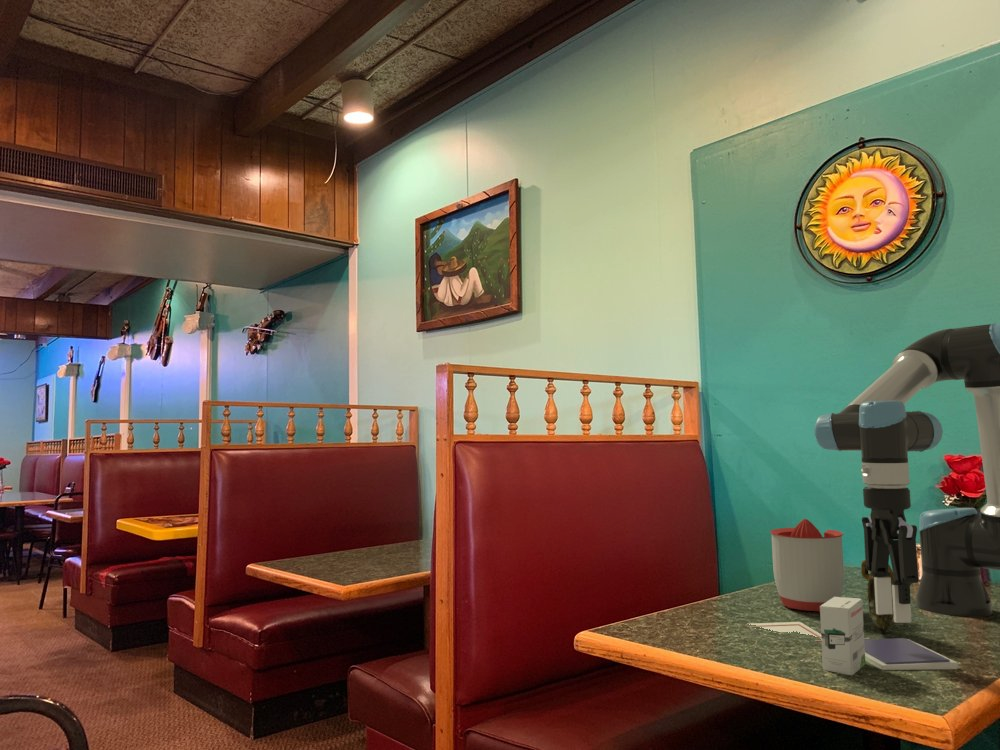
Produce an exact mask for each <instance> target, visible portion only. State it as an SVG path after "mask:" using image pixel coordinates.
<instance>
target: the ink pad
mask: <svg viewBox="0 0 1000 750" xmlns="http://www.w3.org/2000/svg"><path fill="white" fill-rule="evenodd" d="M864 644H865V662H867V663H869V664H871V665H872V666H874V667H876V668H878V669H879V670H882V671H883V670H884V671H886V670H887V671H891V670H893V671H894V670H895V671H896V670H899V671H900V670H902V671H904V670H908V671H909V670H911V671H912V670H958V669H959V668H958V667H959V666H958V661H956V660H953V659H951V658H948V656H947V657H946V656H945V655H943V654H940V653H938V652H937V651H934V650H933V649H930V648H929V647H926V646H924V645H922V644H920V643H918V642H916V641H913V640H912V639H909V638H905V637H898V638H873V639H871V638H870V639H867V638H866V639H864Z"/></svg>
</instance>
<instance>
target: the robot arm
mask: <svg viewBox="0 0 1000 750" xmlns="http://www.w3.org/2000/svg"><path fill="white" fill-rule="evenodd" d="M954 380H955V381H957V380H958V381H959V380H964V382H963V383H964V389H965V390H967V391H968V392H970V393H971V394H972V395H973V397H974V405H975V412H976V413H975V414H976V420H977V421H976V422H977V429H978V437H979V445H980V452H981V460H982V461H981V462H982V469H983V476H984V485H985V493H986V494H985V495H986V501H987V502H986V504H984V505H983V506H982V507H981V508H980V515H979V514H978V513H979V512H978V511H977V509H976V508H975V507H955V508H953V507H952V508H941V509H932V510H931V509H930V510H925V511H923V512H921V513H920V515H919V524H918V525H919V526H918V527H917V526H916V525H915V524H911V525H910V524H908V523H907V519H906V516H905V510H908V509H910V508H911V507H912V505H911V504H912V503H911V501H912V500H911V490H910V489H909V487H907V486H909V485H910V483H911V482H910V469H909V457H908V456H909V454H908V452H921V453H922V452H924V451H928V450H931V449H934V448H935V447H937V446H938V445H939V443H940V442H941V441H942V438H943V432H944V431H943V426H942V424H941V422H940V420H939V419H938V418H937V417H936V416H935V415H934V414H932V413H929V412H925V411H921V410H913V411H907V410H906V406H905V405H906V404H907V403H908V402H909V401H910V399H912V398H913V396H915V395H916V394H917V393H918V392H919V391H920V390H924V389H927V388H929V387H931V386H933V384H935V383H937V382H943V381H954ZM814 437H815V439H816V443H818V445H819V446H820V447H821V448H822V449H823V450H827V451H828V450H829V451H838V452H841V451H856V452H857V451H861V469H860V472H861V473H862V484H863V485H866V486H864V488H862V494H863V495H862V496H863V505H864V508H867V509H870V515H869V516H863V517H861V522H862V523H861V524H862V527H863V537H864V538H863V539H864V540H863V541H864V542H863V543H864V555H865V556H864V558H865V559H864V560H865V562H866V570H867V571H868V572H870V571H871V574H872V576H874V586H875V603H876V614H878V615H882V614H894V616H893V623H896V624H897V623H901V624H902V623H904V624H905V623H912V609H911V607H912V606H911V602H912V601H911V585H912V584H917V583H919V584H918V586H917V587H918V588H917V590H916V594H915V607H917V609H919V610H922V611H926V612H930V613H933V614H940V615H946V616H953V615H955V616H954V617H956V616H957V617H965V616H966V617H967V618H968V617H970V618H974V617H975V618H976V617H977V618H980V617H981V618H982V617H989V616H992V614H993V603H992V601H991V598H990V596H989V594H988V591H987V588H986V586H985V584H984V582H983V580H982V576H981V574H982V573H981V568H982V569H988V570H995V571H1000V322H993V323H989V324H980V325H972V326H971V325H970V326H964V327H957V328H956V327H955V328H946V329H941V330H937V331H935V332H932V333H930V334H927V335H925V336H923V337H921V338H920V339H917V340H916V341H914V342H913V343H911V344H909V345H908V346H907V347H905V348H904V349H902V350H901V351H900V352H899V353H897V355H896V356H895V357H894V359H893V360H892V366H890V367H889V368H888V369H887V370H886V371H885V372H884V373H883V374H881V375H880V376H879V377H878V378H877V379H876V380H875V381H874V382H872V384H870V385H869V386H868V387H867V388H866V389H865V390H863V392H861V393H860V394H859V395H857V397H856V398H854V400H852V401H851V402H850V403H849V404H848V405H847V406H846V407H845V408H843V409H842V410H841V411H840V412H837V413H834V412H830V413H827V414H822V415H820V416H818V418H817V420H816V421H815V423H814ZM918 528H919V529H918ZM917 533H919V543H920V544H919V545H920V556H921V558H920V559H921V572H922V574H921V577H920V581H919V569H918V555H917V554H918V553H917V552H918V551H917V535H918V534H917ZM889 562H890V563H891V569H892V571H893V575H894V580H895V581H893V582H891V578H890V577H885V576H891V573H890V572H888V564H889ZM871 563H872V564H871ZM889 565H890V564H889ZM891 584H892V590H891ZM892 597H893V608H892ZM966 617H965V618H966Z"/></svg>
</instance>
